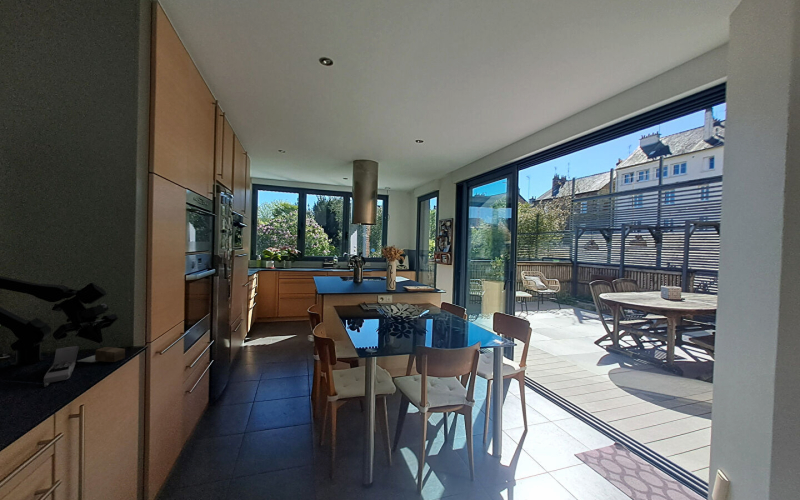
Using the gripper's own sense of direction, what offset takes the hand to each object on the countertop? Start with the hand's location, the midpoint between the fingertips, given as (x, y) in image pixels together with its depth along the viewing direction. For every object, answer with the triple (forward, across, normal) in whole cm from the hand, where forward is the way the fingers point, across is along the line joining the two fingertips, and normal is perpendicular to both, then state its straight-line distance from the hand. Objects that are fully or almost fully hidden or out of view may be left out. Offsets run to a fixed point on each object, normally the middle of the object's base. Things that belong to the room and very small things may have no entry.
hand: (100, 342), depth 117 cm
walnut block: (+3, 0, +3) cm, 4 cm away
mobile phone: (+5, -12, +6) cm, 14 cm away
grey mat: (+3, 0, +7) cm, 7 cm away
